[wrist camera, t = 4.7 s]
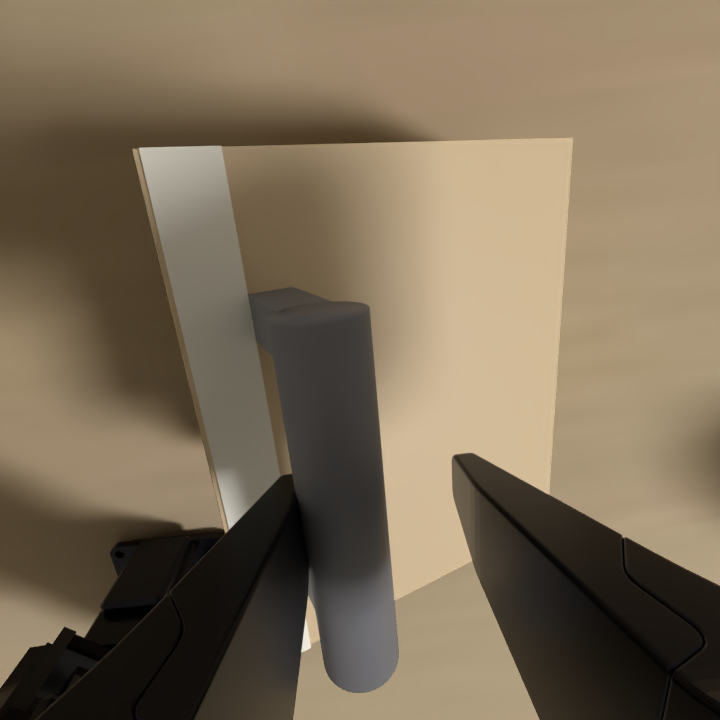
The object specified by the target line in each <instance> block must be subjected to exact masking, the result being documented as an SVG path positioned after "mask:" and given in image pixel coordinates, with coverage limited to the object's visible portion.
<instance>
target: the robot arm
mask: <svg viewBox="0 0 720 720" xmlns="http://www.w3.org/2000/svg"><path fill="white" fill-rule="evenodd" d="M452 491H453V497H454V502H455V505H456V508H457V512H458V515H459V518H460V522H461V525H462V528H463V532H464V535H465V538H466V542H467V545H468V548H469V552H470V555H471V558H472V561H473V564H474V567H475V570H476V573H477V575H478V578H479V580H480V583H481V585H482V587H483V590H484V592H485V594H486V597H487V599H488V601H489V604H490V606H491V608H492V610H493V613H494V615H495V617H496V620H497V622H498V624H499V627H500V629H501V631H502V634H503V636H504V638H505V641H506V643H507V645H508V647H509V650H510V652H511V654H512V657H513V659H514V661H515V664H516V666H517V668H518V671H519V673H520V675H521V678H522V680H523V682H524V684H525V687H526V689H527V691H528V694H529V696H530V698H531V701H532V703H533V705H534V708H535V710H536V712H537V715H538V717H539V719H540V720H720V586H719V585H717V584H715V583H713V582H711V581H709V580H707V579H705V578H703V577H701V576H699V575H697V574H695V573H693V572H691V571H689V570H687V569H685V568H683V567H681V566H679V565H677V564H675V563H673V562H671V561H669V560H668V559H666V558H664V557H662V556H660V555H658V554H656V553H654V552H652V551H650V550H649V549H647V548H645V547H643V546H641V545H640V544H638V543H636V542H634V541H632V540H630V539H629V538H626V537H625V538H623V537H622V535H621V534H619V533H617V532H616V531H614V530H612V529H610V528H608V527H607V526H605V525H603V524H601V523H599V522H598V521H596V520H594V519H592V518H590V517H588V516H587V515H585V514H583V513H581V512H579V511H578V510H576V509H574V508H572V507H570V506H568V505H567V504H565V503H563V502H561V501H559V500H558V499H556V498H554V497H552V496H550V495H549V494H547V493H545V492H543V491H541V490H539V489H538V488H536V487H534V486H532V485H530V484H529V483H527V482H525V481H523V480H521V479H519V478H518V477H516V476H514V475H512V474H510V473H509V472H507V471H505V470H503V469H501V468H500V467H498V466H496V465H494V464H492V463H490V462H489V461H487V460H485V459H483V458H481V457H480V456H478V455H476V454H474V453H463V454H455V455H454V456H453V457H452ZM120 551H122V552H123V553H122V552H120ZM110 555H111V558H112V561H113V564H114V566H115V569H116V572H117V575H118V578H117V580H116V581H115V583H114V585H113V586H112V588H111V589H110V591H109V593H108V594H107V596H106V597H105V599H104V601H103V602H102V604H101V612H100V613H99V615H98V616H97V618H96V620H95V621H94V623H93V625H92V626H91V628H90V629H89V631H88V633H87V634H86V636H85V638H83V637H81V636H78V635H76V634H75V633H76V631H73V630H71V629H69V628H66V627H64V628H63V630H62V631H61V633H60V634H59V635H58V637H57V638H56V640H55V641H54V643H53V644H50V643H48V642H47V644H46V645H44V646H38V647H31V648H29V650H28V651H27V653H26V654H25V655H24V657H23V658H22V659H21V661H20V662H19V664H18V665H17V666H16V668H15V669H14V670H13V672H12V673H11V675H10V676H9V677H8V679H7V680H6V681H5V683H4V684H3V685H2V687H1V688H0V720H293V715H294V707H295V699H296V691H297V683H298V675H299V667H300V659H301V650H302V642H303V634H304V626H305V618H306V610H307V601H308V590H309V565H308V559H307V553H306V547H305V541H304V535H303V530H302V524H301V518H300V512H299V506H298V500H297V496H296V493H295V487H294V481H293V475H292V474H285V475H282V476H280V477H279V478H278V479H277V480H276V481H275V482H274V484H273V485H272V486H271V487H270V488H269V489H268V490H267V491H266V492H265V493H264V494H263V495H262V496H261V497H260V498H259V499H258V500H257V501H256V502H255V503H254V504H253V505H252V506H251V507H250V509H249V510H248V511H247V512H246V513H245V514H244V515H243V516H242V517H241V518H240V519H239V520H238V521H237V522H236V523H235V524H234V525H233V526H232V527H231V528H230V529H229V530H228V531H227V532H226V533H224V532H217V533H207V534H197V535H186V536H176V537H166V538H156V539H146V540H135V541H125V542H119V543H117V544H115V546H114V547H113V549H112V550H111V552H110Z"/></svg>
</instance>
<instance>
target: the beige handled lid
mask: <svg viewBox="0 0 720 720" xmlns="http://www.w3.org/2000/svg"><path fill="white" fill-rule="evenodd" d="M572 145H573V138H547V139H507V140H467V141H427V142H386V143H346V144H306V145H266V146H226V147H221V146H188V147H146V148H139V149H132V150H133V156H134V160H135V164H136V168H137V172H138V176H139V181H140V185H141V189H142V193H143V197H144V201H145V205H146V210H147V214H148V218H149V222H150V226H151V230H152V234H153V238H154V243H155V247H156V251H157V255H158V259H159V263H160V267H161V271H162V276H163V280H164V284H165V288H166V292H167V296H168V300H169V304H170V309H171V313H172V317H173V321H174V325H175V329H176V333H177V338H178V342H179V346H180V350H181V354H182V358H183V362H184V366H185V371H186V375H187V379H188V383H189V387H190V391H191V395H192V399H193V404H194V408H195V412H196V416H197V420H198V424H199V428H200V432H201V437H202V441H203V445H204V449H205V453H206V457H207V461H208V465H209V470H210V474H211V478H212V482H213V486H214V490H215V494H216V499H217V503H218V507H219V511H220V515H221V519H222V523H223V527H224V532H225V533H226V532H227V531H228V530H229V529H230V528H231V527H232V526H233V525H234V524H235V523H236V522H237V521H238V520H239V519H240V518H241V517H242V516H243V515H244V514H245V513H246V512H247V511H248V510H249V509H250V507H251V506H252V505H253V504H254V503H255V502H256V501H257V500H258V499H259V498H260V497H261V496H262V495H263V494H264V493H265V492H266V491H267V490H268V489H269V488H270V487H271V486H272V485H273V484H274V482H275V481H276V480H277V479H278V478H279V477H280V476H282V475H285V474H292V475H293V481H294V487H295V493H296V496H297V500H298V506H299V512H300V518H301V524H302V530H303V535H304V541H305V547H306V553H307V559H308V565H309V590H308V601H307V610H306V618H305V626H304V634H303V642H302V650H301V653H302V652H304V651H306V650H307V649H309V648H311V644H312V643H314V642H316V641H318V640H320V642H321V648H322V654H323V660H324V666H325V669H326V672H327V674H328V676H329V678H330V679H331V680H332V681H333V682H334V684H336V685H337V686H338V687H340V688H341V689H343V690H346V691H348V692H353V693H365V692H369V691H372V690H375V689H377V688H379V687H380V686H382V685H383V684H384V683H386V682H387V681H388V680H389V678H390V677H391V676H392V674H393V673H394V671H395V669H396V666H397V663H398V658H399V649H398V637H397V625H396V613H395V601H396V600H397V599H399V598H401V597H403V596H405V595H407V594H409V593H411V592H413V591H415V590H417V589H419V588H421V587H423V586H425V585H427V584H429V583H430V582H432V581H434V580H436V579H438V578H440V577H442V576H444V575H446V574H448V573H450V572H452V571H454V570H456V569H458V568H460V567H461V566H463V565H465V564H467V563H469V562H471V561H472V558H471V555H470V552H469V548H468V545H467V542H466V538H465V535H464V532H463V528H462V525H461V522H460V518H459V515H458V512H457V508H456V505H455V502H454V497H453V491H452V457H453V456H454V455H455V454H463V453H474V454H476V455H478V456H480V457H481V458H483V459H485V460H487V461H489V462H490V463H492V464H494V465H496V466H498V467H500V468H501V469H503V470H505V471H507V472H509V473H510V474H512V475H514V476H516V477H518V478H519V479H521V480H523V481H525V482H527V483H529V484H530V485H532V486H534V487H536V488H538V489H539V490H541V491H543V492H545V493H547V494H549V488H550V473H551V458H552V443H553V428H554V414H555V399H556V384H557V369H558V354H559V339H560V324H561V309H562V294H563V279H564V265H565V250H566V235H567V220H568V205H569V190H570V175H571V160H572Z"/></svg>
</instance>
